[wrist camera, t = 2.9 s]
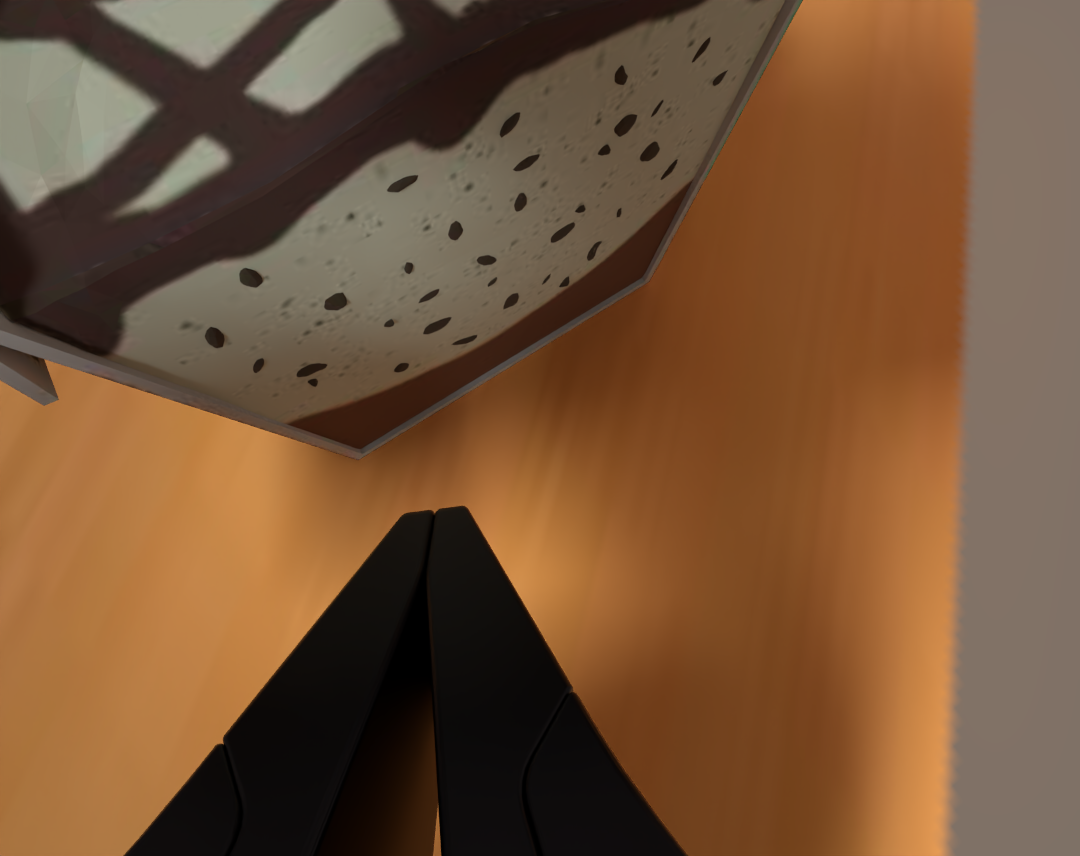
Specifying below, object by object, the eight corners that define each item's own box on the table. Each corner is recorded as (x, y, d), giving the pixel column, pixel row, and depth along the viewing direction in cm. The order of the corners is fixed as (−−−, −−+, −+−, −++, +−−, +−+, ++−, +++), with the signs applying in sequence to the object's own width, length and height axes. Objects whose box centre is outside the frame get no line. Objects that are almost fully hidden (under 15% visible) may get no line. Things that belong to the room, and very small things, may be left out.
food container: (570, 104, 17) (626, -491, 8) (691, 256, 16) (942, -216, 6) (200, 304, 15) (-361, -140, 6) (306, 492, 14) (-168, 336, 5)
